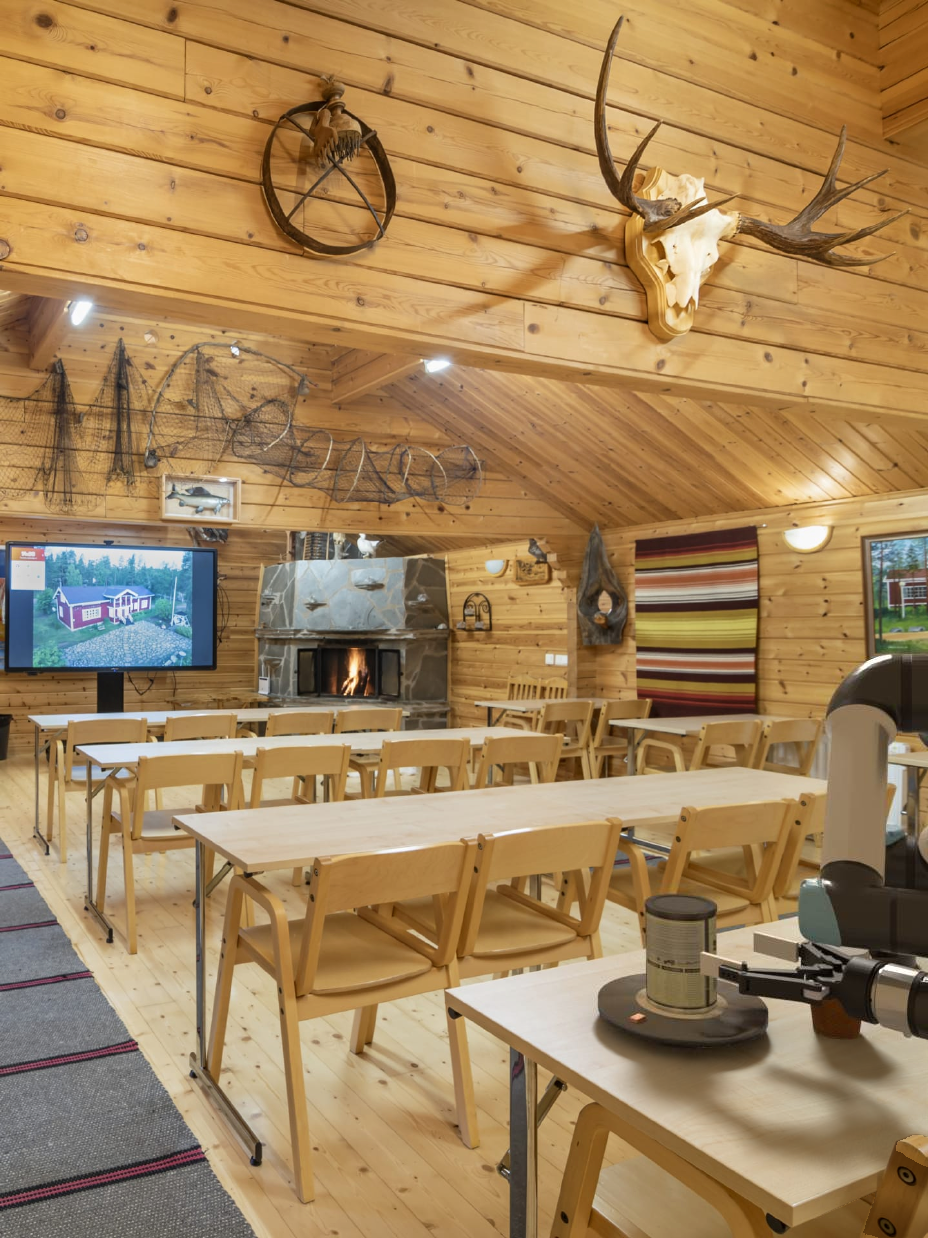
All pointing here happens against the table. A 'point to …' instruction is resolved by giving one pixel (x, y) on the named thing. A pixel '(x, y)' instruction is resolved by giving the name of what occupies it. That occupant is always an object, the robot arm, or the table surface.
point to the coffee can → (680, 953)
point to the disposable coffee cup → (836, 1009)
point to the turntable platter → (683, 1016)
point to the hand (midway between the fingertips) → (728, 951)
